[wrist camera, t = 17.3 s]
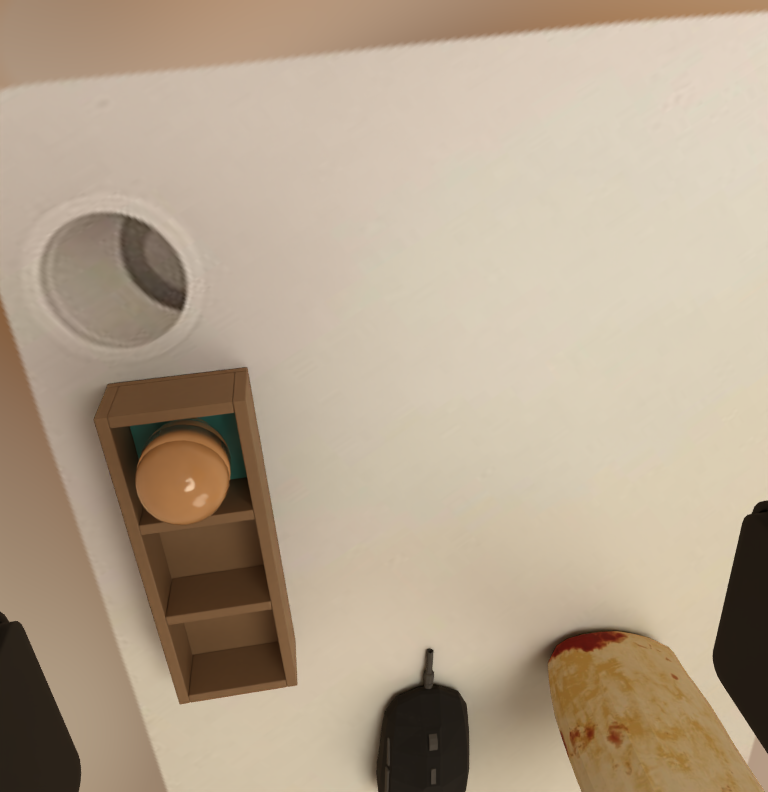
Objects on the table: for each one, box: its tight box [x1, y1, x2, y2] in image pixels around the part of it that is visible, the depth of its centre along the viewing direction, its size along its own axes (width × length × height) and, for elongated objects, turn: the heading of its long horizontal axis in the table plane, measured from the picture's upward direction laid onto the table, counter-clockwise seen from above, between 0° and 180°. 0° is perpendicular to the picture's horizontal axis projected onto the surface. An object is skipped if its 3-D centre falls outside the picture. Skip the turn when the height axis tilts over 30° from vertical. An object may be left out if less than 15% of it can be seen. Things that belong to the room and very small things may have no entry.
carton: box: [94, 367, 297, 704], centre depth 39 cm, size 7×19×3 cm, turn 4°
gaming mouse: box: [376, 649, 469, 792], centre depth 49 cm, size 6×15×4 cm, turn 178°
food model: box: [548, 631, 765, 792], centre depth 41 cm, size 10×7×20 cm
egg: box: [135, 418, 231, 526], centre depth 34 cm, size 4×4×6 cm
